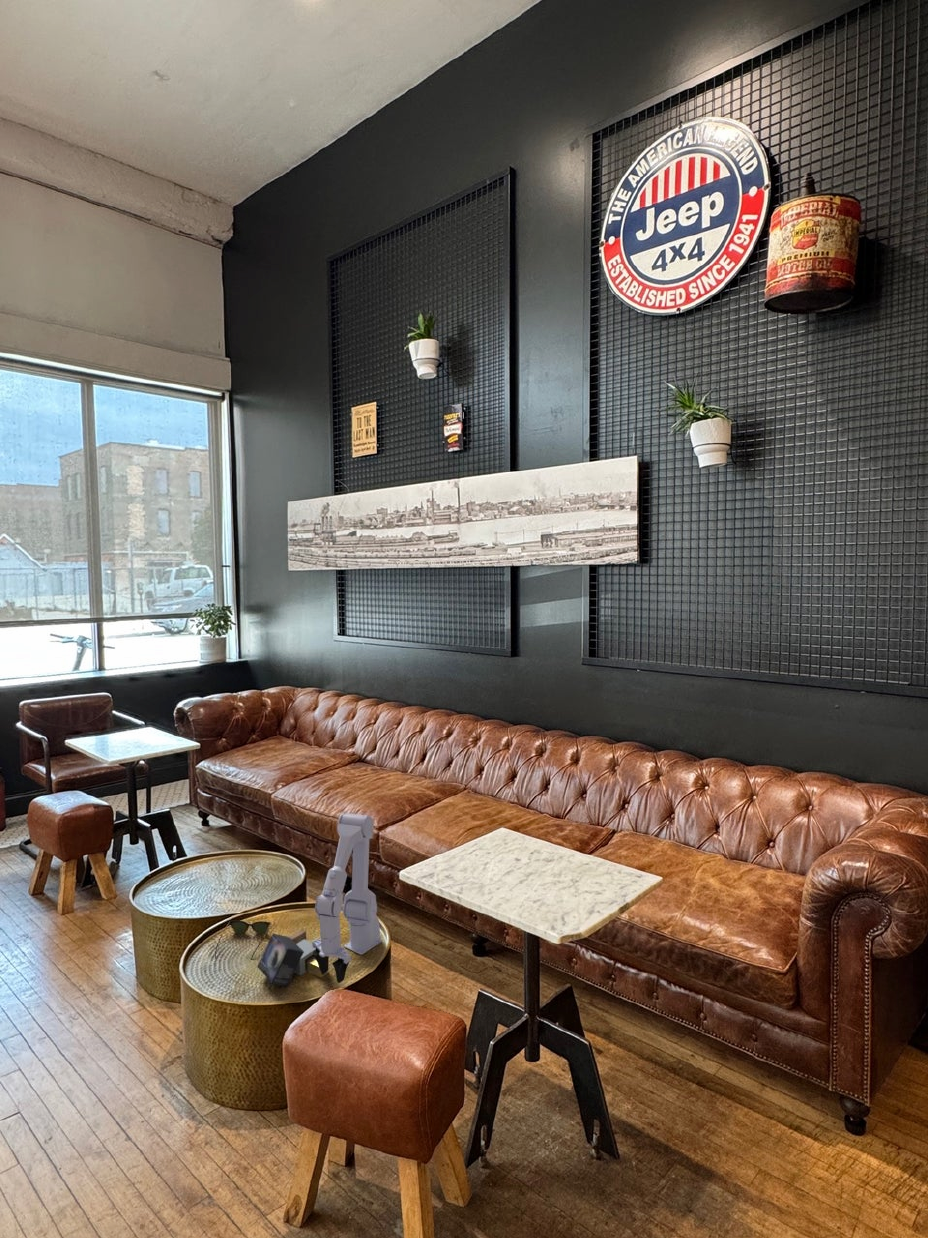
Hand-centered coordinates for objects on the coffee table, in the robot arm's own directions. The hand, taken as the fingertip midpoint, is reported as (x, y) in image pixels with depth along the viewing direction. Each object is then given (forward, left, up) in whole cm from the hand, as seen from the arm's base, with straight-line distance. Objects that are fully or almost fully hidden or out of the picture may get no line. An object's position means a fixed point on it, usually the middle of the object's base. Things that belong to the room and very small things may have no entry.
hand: (332, 976), depth 216 cm
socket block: (0, -14, -2) cm, 14 cm away
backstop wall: (0, -20, -2) cm, 20 cm away
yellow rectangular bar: (-1, -9, -2) cm, 10 cm away
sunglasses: (+5, -38, -2) cm, 38 cm away
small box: (+11, -15, 0) cm, 18 cm away
